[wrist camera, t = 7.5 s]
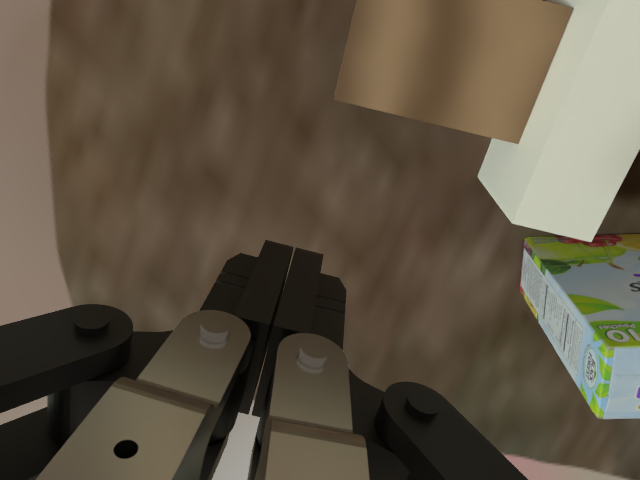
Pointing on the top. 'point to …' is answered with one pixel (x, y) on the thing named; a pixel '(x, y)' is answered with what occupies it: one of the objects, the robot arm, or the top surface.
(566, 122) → the cream rectangular block
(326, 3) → the top surface
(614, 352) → the snack box
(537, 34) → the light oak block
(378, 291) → the top surface
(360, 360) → the top surface
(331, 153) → the top surface
